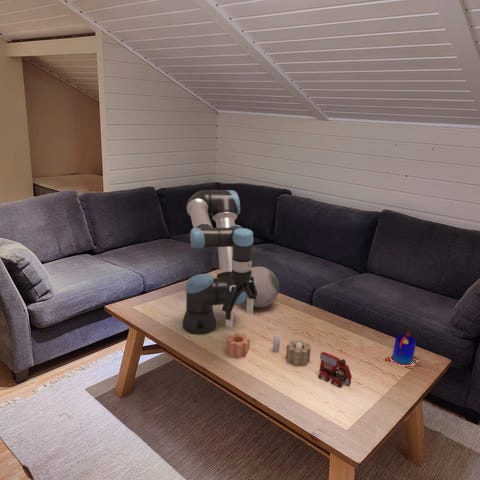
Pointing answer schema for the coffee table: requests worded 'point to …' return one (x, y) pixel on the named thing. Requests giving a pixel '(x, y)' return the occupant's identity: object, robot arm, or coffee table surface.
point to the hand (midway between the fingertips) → (239, 319)
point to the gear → (298, 353)
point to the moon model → (264, 286)
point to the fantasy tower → (403, 350)
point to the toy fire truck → (334, 370)
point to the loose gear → (237, 345)
